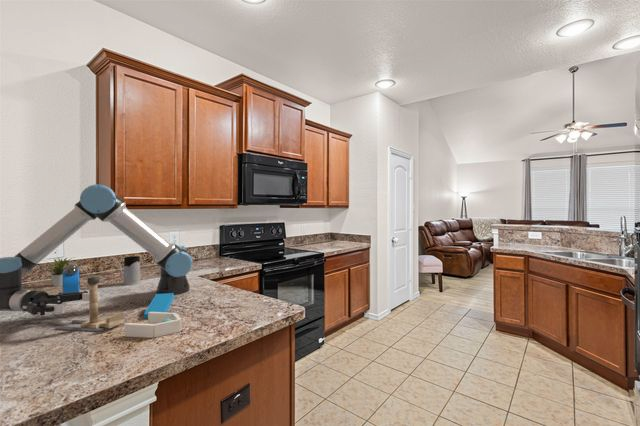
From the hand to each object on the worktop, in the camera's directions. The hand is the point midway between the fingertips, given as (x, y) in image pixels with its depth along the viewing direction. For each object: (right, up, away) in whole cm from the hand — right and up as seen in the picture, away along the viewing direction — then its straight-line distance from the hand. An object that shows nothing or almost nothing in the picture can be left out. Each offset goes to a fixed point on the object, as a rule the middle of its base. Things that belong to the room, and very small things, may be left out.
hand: (82, 302), depth 109 cm
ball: (+32, -6, -4) cm, 33 cm away
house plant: (-60, -9, +63) cm, 87 cm away
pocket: (+29, -8, -4) cm, 31 cm away
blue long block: (+19, -9, +17) cm, 27 cm away
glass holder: (-25, -8, +66) cm, 71 cm away
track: (+2, -9, 0) cm, 9 cm away
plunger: (+7, -8, -1) cm, 11 cm away
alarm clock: (-35, -9, +39) cm, 53 cm away
